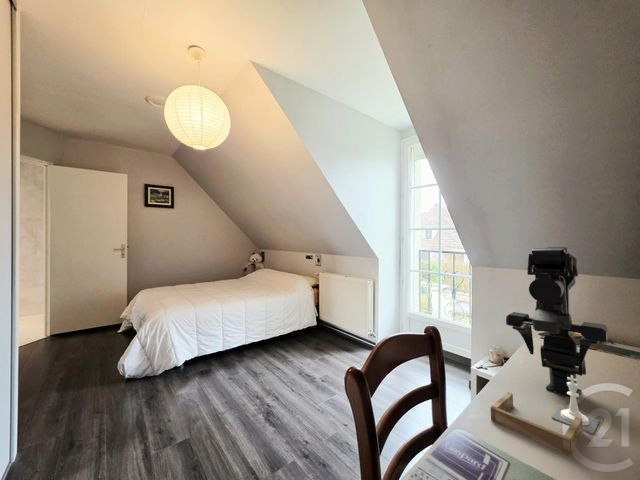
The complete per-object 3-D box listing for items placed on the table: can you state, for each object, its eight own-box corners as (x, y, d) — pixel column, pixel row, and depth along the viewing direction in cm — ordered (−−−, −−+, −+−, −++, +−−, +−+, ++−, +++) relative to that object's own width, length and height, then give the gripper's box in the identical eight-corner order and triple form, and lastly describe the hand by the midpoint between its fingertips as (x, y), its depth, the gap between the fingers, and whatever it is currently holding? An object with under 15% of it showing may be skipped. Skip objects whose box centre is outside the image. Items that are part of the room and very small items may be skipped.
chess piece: (560, 409, 66) (558, 369, 66) (588, 417, 62) (585, 375, 63) (560, 419, 62) (557, 376, 62) (590, 428, 59) (587, 382, 59)
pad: (559, 407, 67) (559, 406, 67) (599, 422, 61) (599, 420, 61) (551, 418, 63) (551, 417, 63) (593, 434, 57) (593, 433, 57)
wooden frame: (508, 403, 69) (508, 392, 69) (582, 432, 58) (581, 418, 58) (491, 420, 63) (490, 407, 63) (570, 456, 51) (569, 440, 51)
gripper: (497, 296, 69) (500, 357, 68) (600, 307, 54) (606, 384, 53) (511, 291, 76) (514, 346, 75) (606, 300, 61) (611, 368, 60)
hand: (555, 359), depth 66 cm, fingers open, 9 cm apart
